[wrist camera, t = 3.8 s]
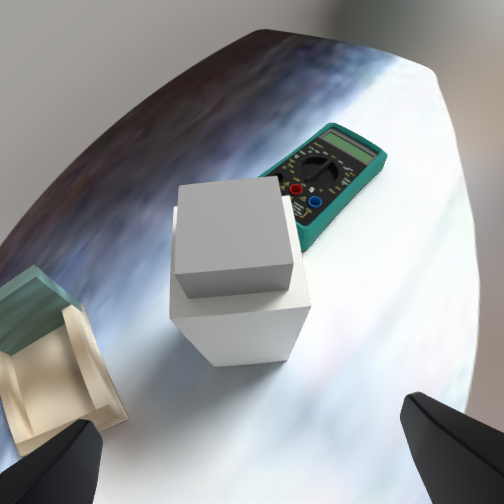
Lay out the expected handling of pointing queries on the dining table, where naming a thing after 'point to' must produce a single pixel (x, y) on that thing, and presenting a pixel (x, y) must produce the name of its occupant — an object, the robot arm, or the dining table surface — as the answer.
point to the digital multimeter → (325, 177)
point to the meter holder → (50, 363)
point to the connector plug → (237, 271)
